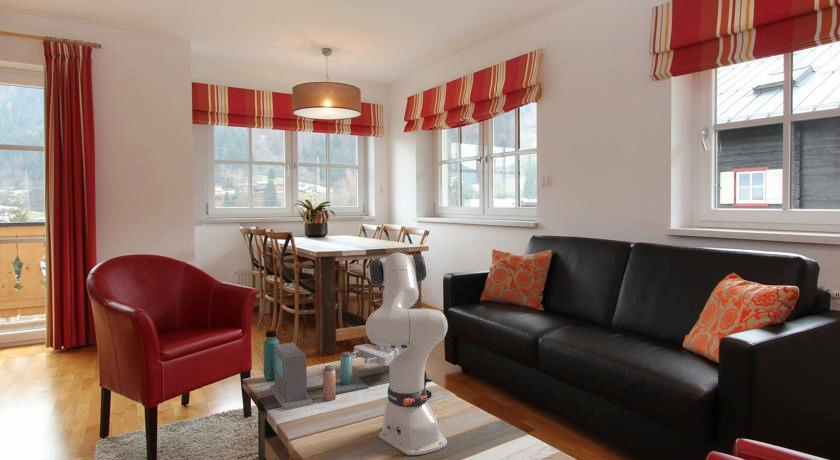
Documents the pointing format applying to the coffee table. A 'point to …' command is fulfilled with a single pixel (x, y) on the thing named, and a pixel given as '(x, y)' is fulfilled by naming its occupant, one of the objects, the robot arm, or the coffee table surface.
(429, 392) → the webcam
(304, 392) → the block
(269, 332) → the beverage bottle
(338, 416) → the coffee table surface
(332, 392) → the terracotta cartridge
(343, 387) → the pad
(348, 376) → the cylinder
